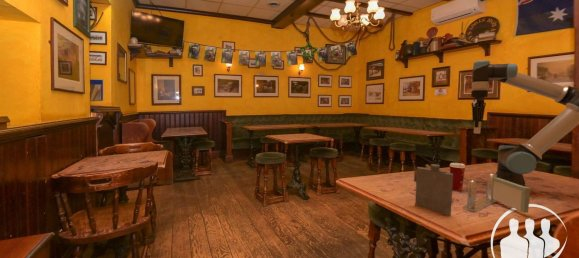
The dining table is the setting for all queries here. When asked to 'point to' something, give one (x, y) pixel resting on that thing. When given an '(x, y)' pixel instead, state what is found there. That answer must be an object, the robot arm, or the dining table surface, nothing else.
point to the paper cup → (457, 175)
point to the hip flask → (434, 189)
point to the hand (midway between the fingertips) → (476, 133)
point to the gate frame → (482, 202)
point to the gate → (511, 194)
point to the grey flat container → (416, 172)
